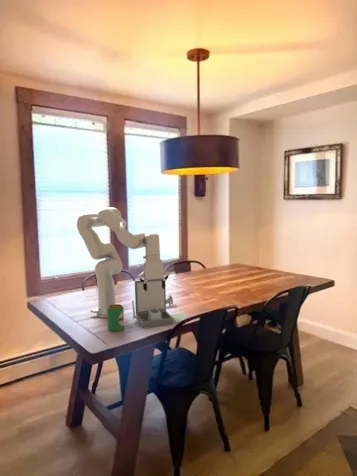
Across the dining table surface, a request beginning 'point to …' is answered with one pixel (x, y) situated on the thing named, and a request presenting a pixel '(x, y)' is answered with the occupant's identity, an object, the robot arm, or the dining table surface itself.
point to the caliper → (169, 300)
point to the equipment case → (150, 303)
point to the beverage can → (115, 317)
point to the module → (154, 314)
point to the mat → (179, 317)
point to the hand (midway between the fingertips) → (154, 289)
